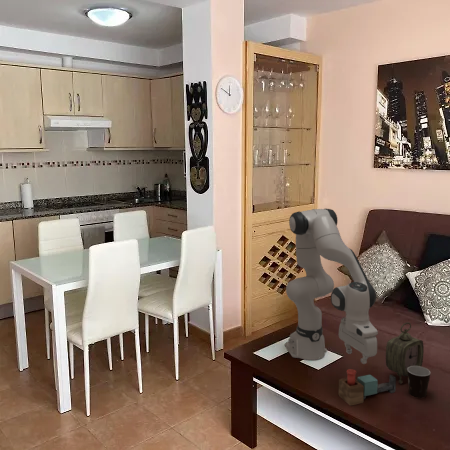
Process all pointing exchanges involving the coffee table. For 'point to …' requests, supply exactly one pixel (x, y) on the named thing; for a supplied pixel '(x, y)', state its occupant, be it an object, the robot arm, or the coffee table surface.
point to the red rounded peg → (351, 377)
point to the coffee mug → (418, 381)
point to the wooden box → (351, 392)
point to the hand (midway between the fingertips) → (356, 358)
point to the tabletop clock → (404, 353)
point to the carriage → (368, 384)
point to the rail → (387, 386)
